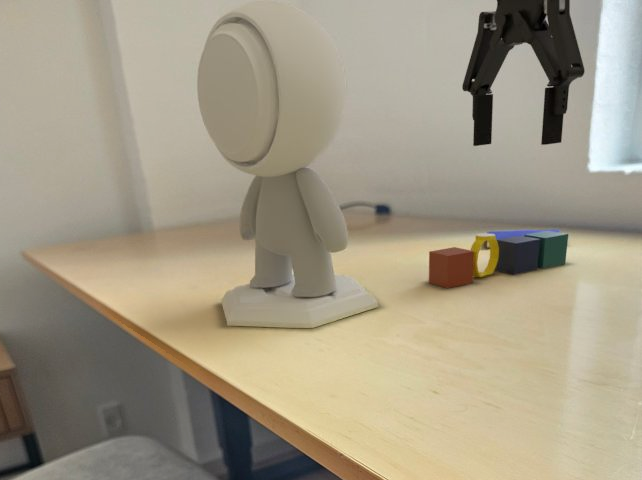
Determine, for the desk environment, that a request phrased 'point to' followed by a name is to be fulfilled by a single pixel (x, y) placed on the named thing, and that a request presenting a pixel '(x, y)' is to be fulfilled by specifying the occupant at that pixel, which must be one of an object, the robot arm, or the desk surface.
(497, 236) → the hard drive
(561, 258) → the block teal
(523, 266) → the block navy
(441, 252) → the block terracotta
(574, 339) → the desk surface
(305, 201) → the white toy figurine
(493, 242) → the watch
